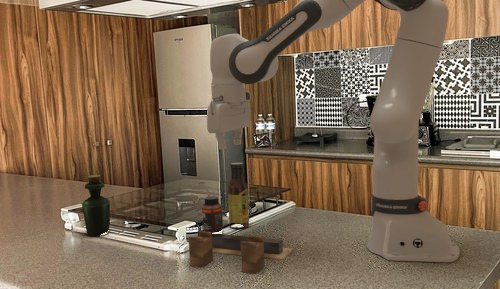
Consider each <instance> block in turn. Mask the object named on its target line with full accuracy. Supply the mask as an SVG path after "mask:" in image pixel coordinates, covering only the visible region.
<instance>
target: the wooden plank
mask: <svg viewBox="0 0 500 289" xmlns="http://www.w3.org/2000/svg"><path fill="white" fill-rule="evenodd" d="M212 249H213V254H222V255H231V256H240V257H241V251H239V250H229V249H220V248H212ZM293 251H294V248H290V247H283V251H282V252H281V253H280V254H279V255H278V254H268V253H264V259H268V260H277V261H278V260H279V261H284V260H285V259H286V258H287V257H288V256H289V255H290V254H292V252H293Z"/></svg>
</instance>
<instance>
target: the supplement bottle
mask: <svg viewBox="0 0 500 289" xmlns="http://www.w3.org/2000/svg"><path fill="white" fill-rule="evenodd" d="M222 206H223V205H222V204H221V203H219V197H218V196H217V195H210V196H206V197H204V204H202V206H201V218H202V219H203V220H204V225H203V224H202V231H203V230H204V231H205V232H219V231H221V230H222V229H223V230H224V221H223V219H224V218H223V207H222ZM203 220H202V221H203Z"/></svg>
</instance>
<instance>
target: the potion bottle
mask: <svg viewBox="0 0 500 289" xmlns="http://www.w3.org/2000/svg"><path fill="white" fill-rule="evenodd" d="M87 181H88V182H87V183H85V185H84V189H86V190H88V193H89V197H88V198H86V199H85V200H84V201H83V202H82V205H81V206H82V211H83V218H84V224H85V230H86V234H87V236H89V237H91V238H93V237H94V238H96V237H101V236H100V235H101V234H103V233H105V232H107V231H108V230H109V231H110V220H111V219H110V214H111V213H110V212H111V211H110V208H111V207H110V206H111V203H110V202H111V201H110V200H109V199H108V198H106V197H105V196H102V194H101V192H102V189H103V188H105V187H106V186H105V183H104V182H103V181H101V175H100V174H91V175H88V176H87Z"/></svg>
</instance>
